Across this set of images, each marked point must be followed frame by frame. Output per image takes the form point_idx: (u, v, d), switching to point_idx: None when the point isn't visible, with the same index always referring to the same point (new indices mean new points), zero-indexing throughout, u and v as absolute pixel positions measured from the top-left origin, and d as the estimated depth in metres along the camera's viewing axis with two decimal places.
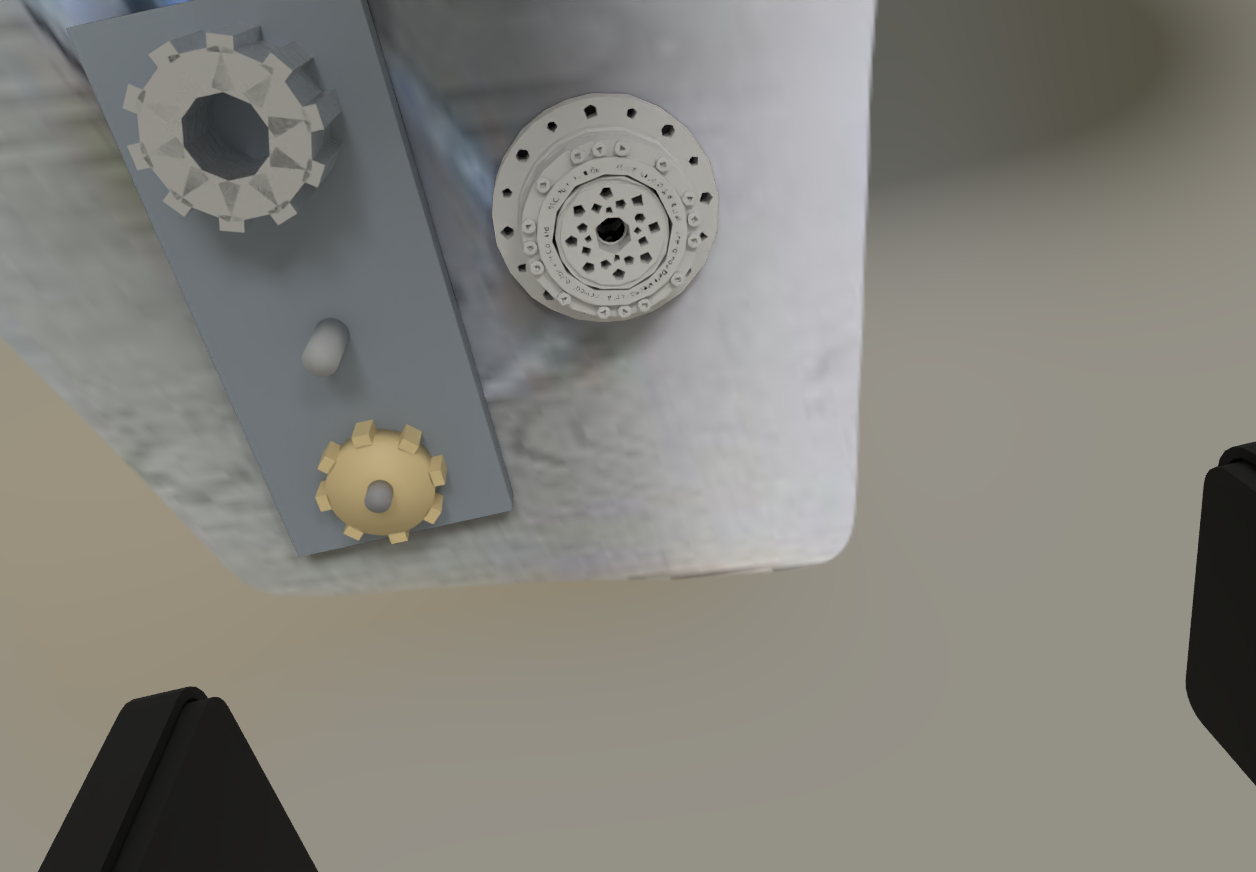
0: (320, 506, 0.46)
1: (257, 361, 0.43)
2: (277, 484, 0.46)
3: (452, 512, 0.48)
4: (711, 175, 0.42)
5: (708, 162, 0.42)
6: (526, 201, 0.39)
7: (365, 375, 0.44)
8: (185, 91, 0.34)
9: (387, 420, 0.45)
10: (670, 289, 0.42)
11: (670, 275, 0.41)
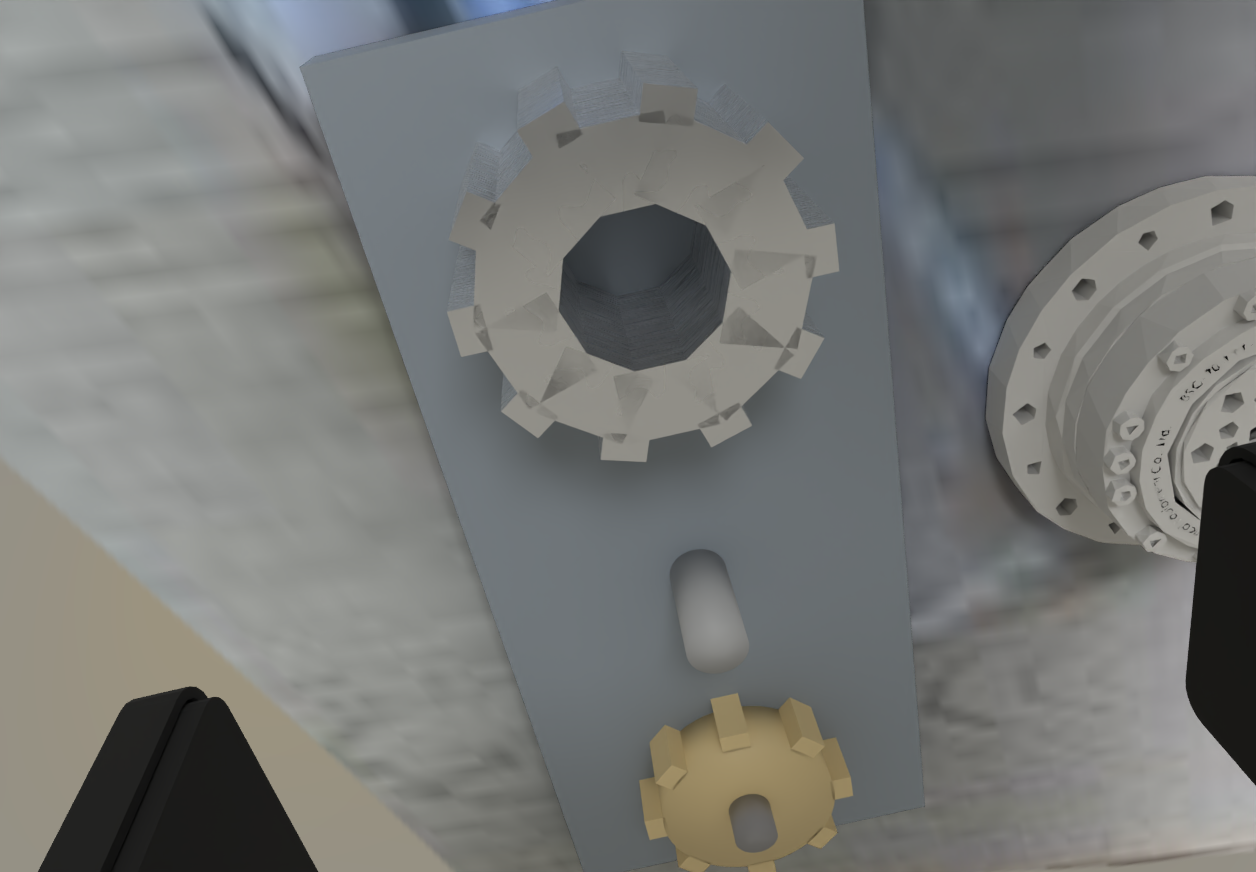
0: (650, 833, 0.28)
1: (567, 617, 0.26)
2: (570, 786, 0.29)
3: (832, 813, 0.30)
4: None
5: None
6: (1130, 383, 0.21)
7: None
8: (580, 204, 0.16)
9: (760, 692, 0.28)
10: None
11: None
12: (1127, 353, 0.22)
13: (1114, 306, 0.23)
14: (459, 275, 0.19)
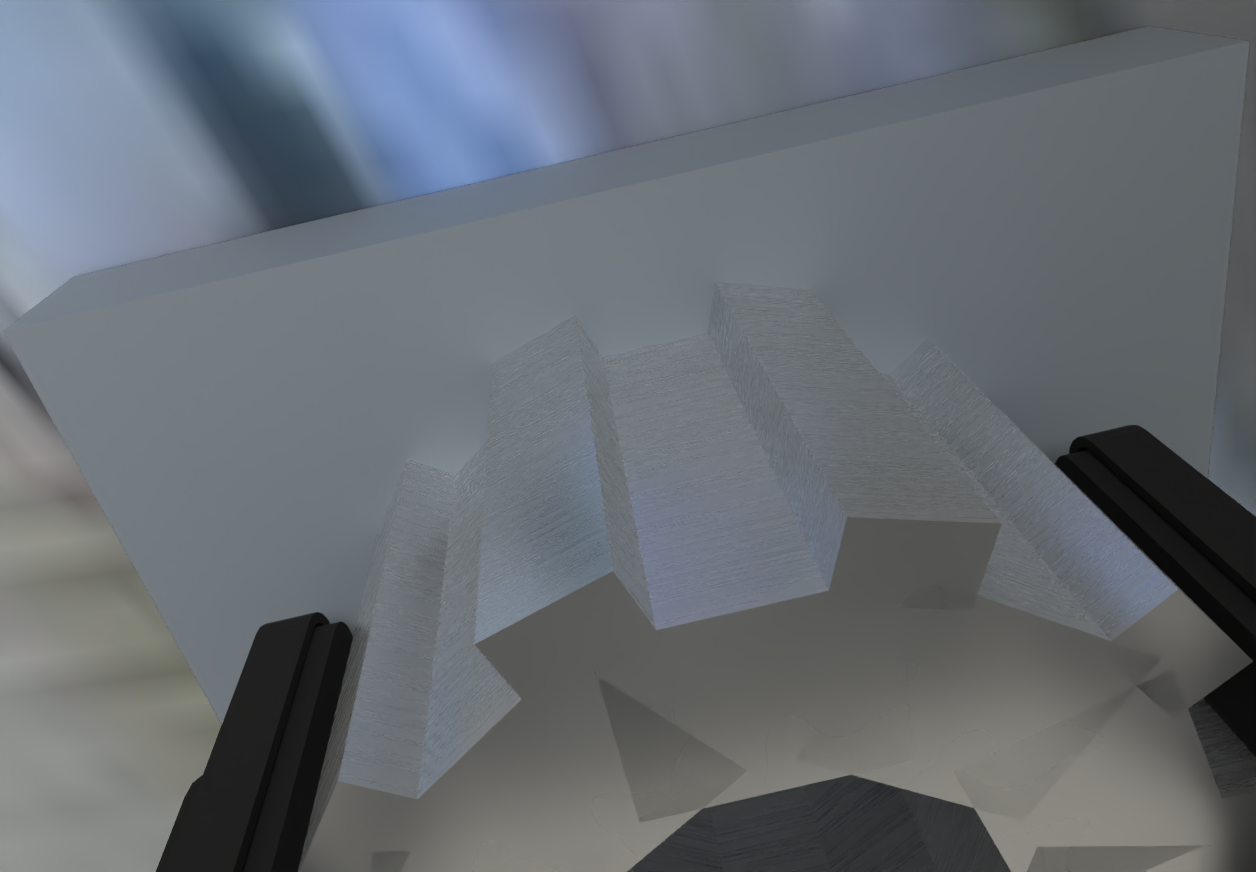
0: None
1: None
2: None
3: None
4: None
5: None
6: None
7: None
8: (652, 788, 0.06)
9: None
10: None
11: None
12: None
13: None
14: None
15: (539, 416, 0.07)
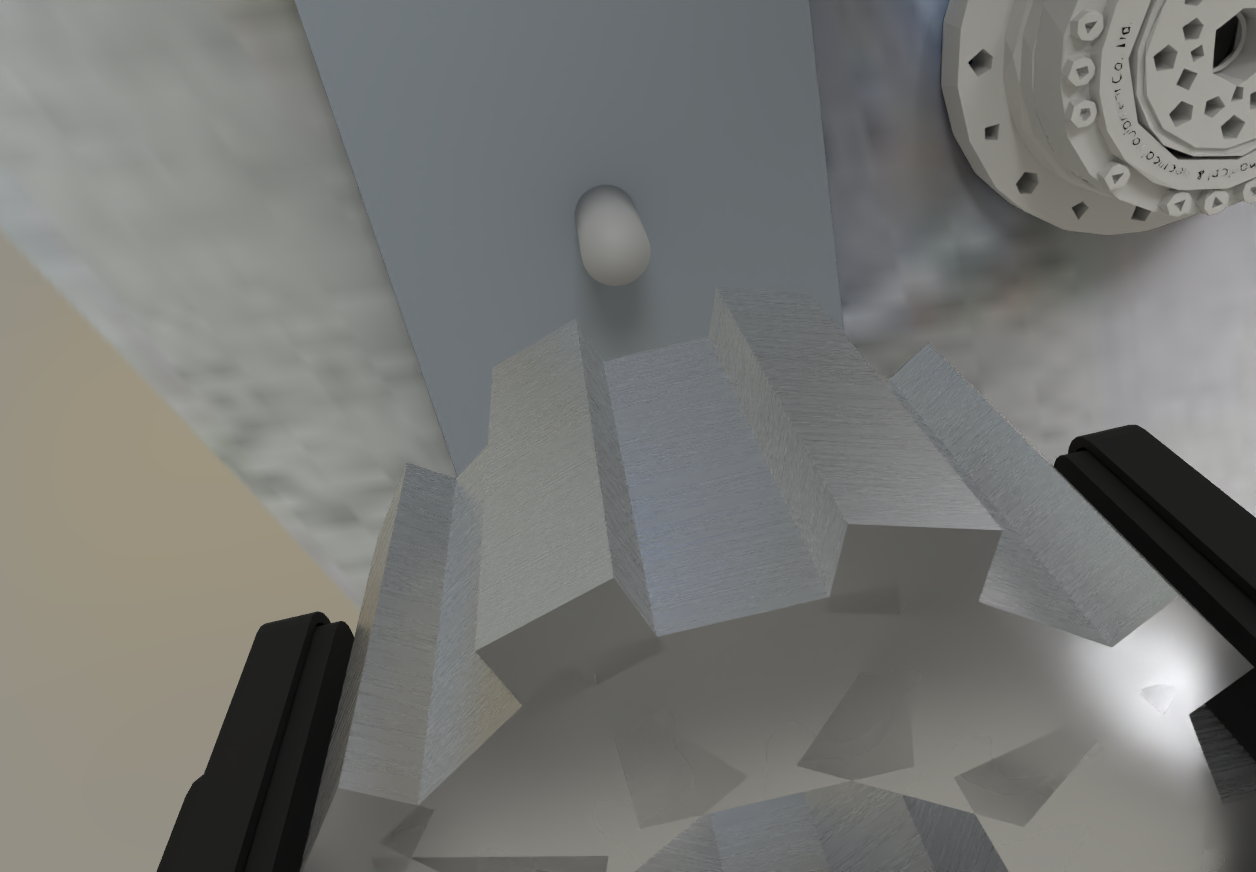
0: None
1: (465, 269, 0.24)
2: None
3: None
4: None
5: None
6: None
7: (654, 295, 0.25)
8: (652, 794, 0.06)
9: None
10: None
11: None
12: None
13: None
14: None
15: (539, 421, 0.07)
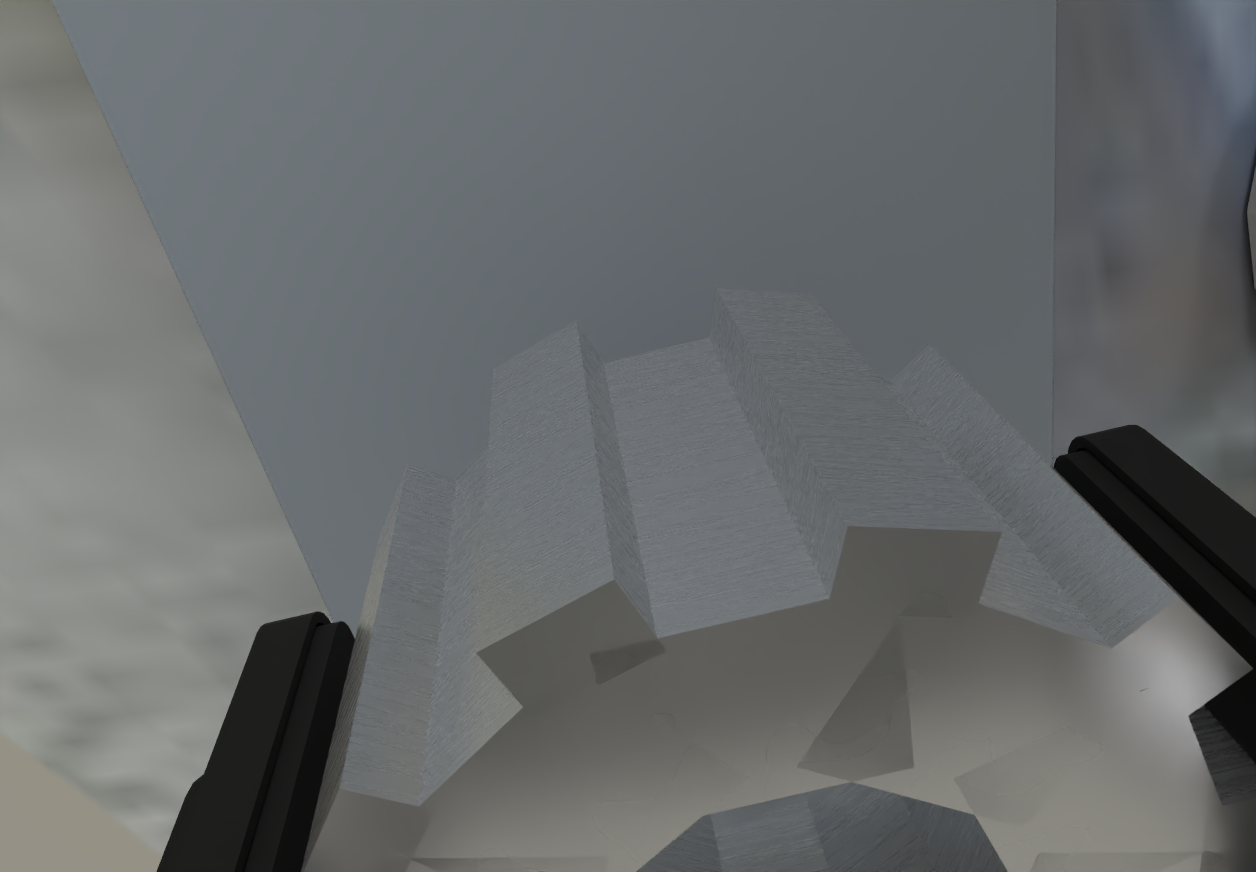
0: None
1: None
2: None
3: None
4: None
5: None
6: None
7: None
8: (652, 795, 0.06)
9: None
10: None
11: None
12: None
13: None
14: None
15: (540, 423, 0.07)
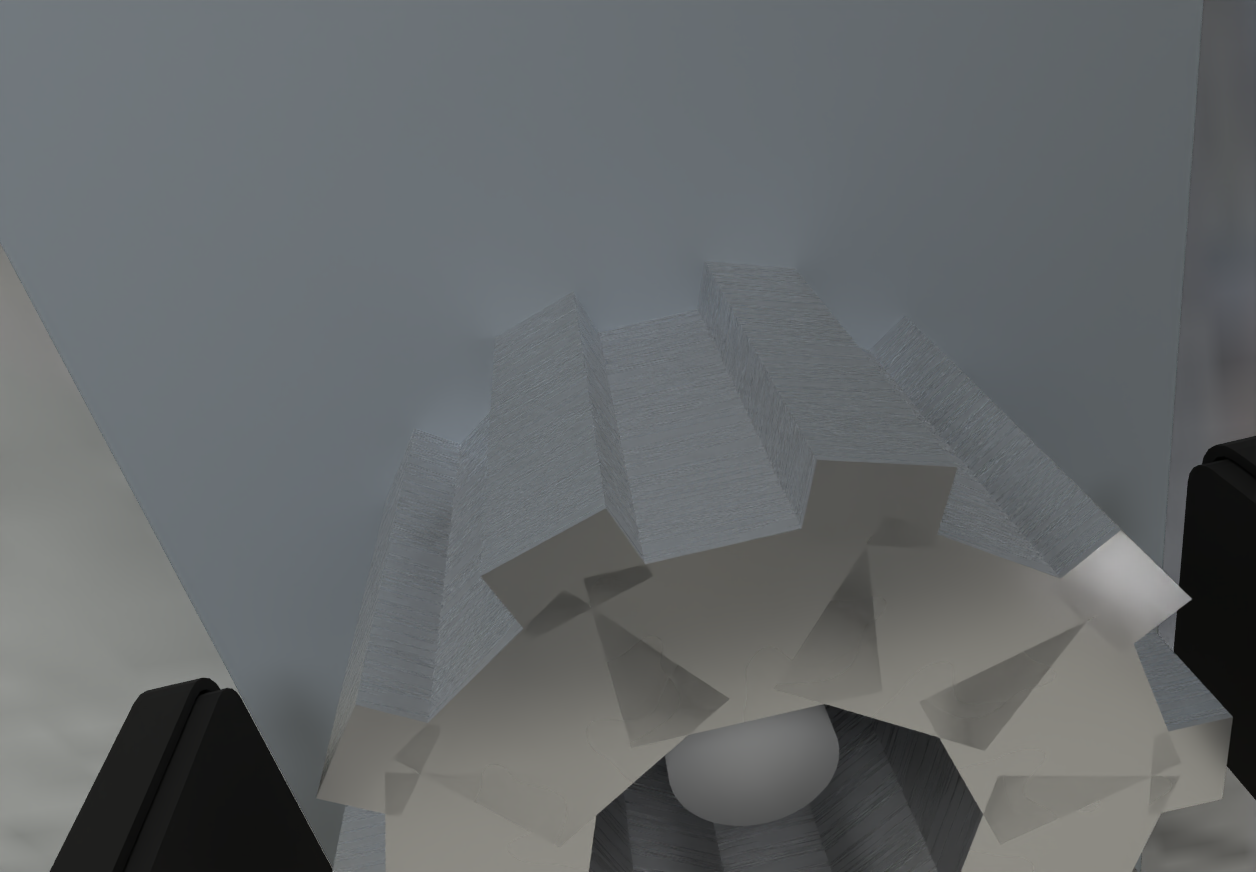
0: None
1: None
2: None
3: None
4: None
5: None
6: None
7: None
8: (641, 715, 0.07)
9: None
10: None
11: None
12: None
13: None
14: None
15: (539, 381, 0.08)
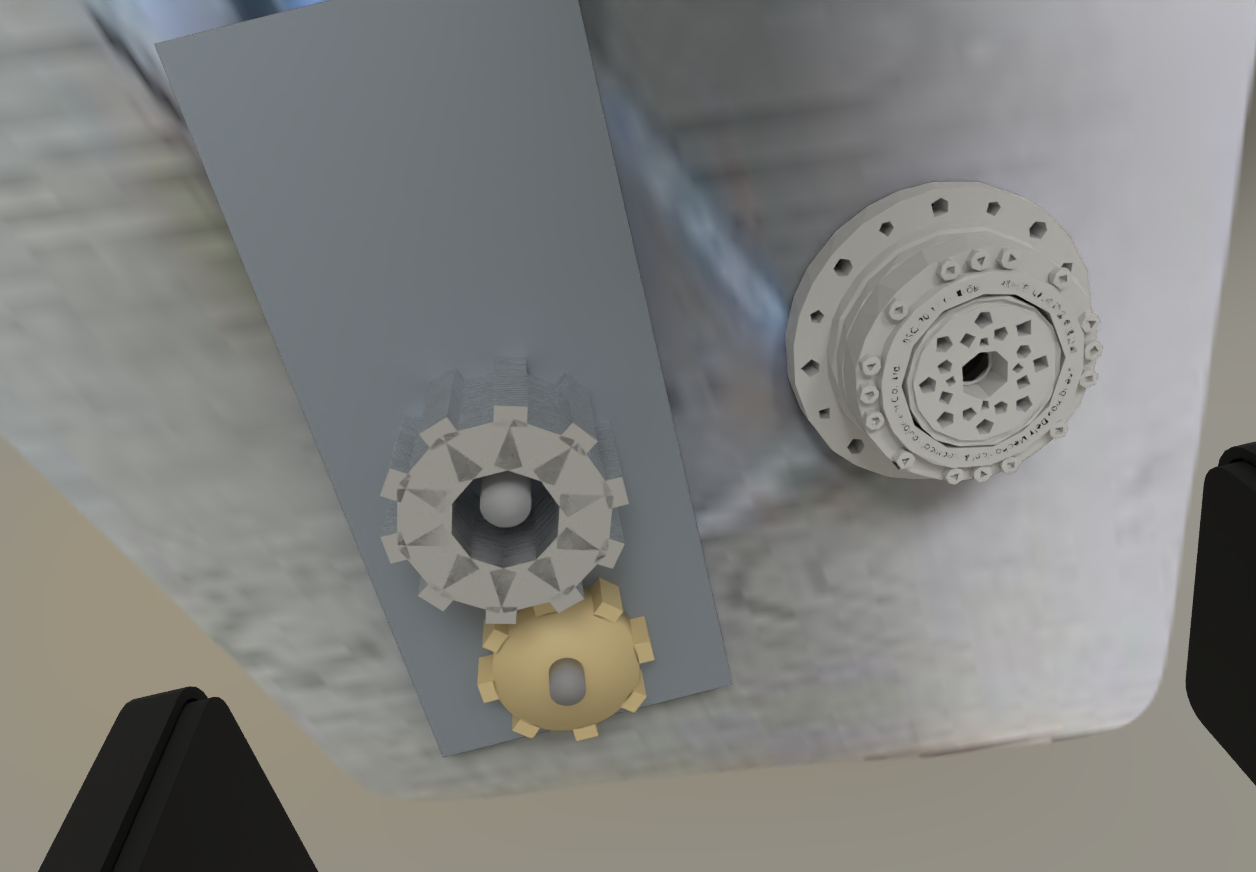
0: (483, 696, 0.33)
1: None
2: (419, 664, 0.34)
3: (651, 690, 0.35)
4: (1086, 286, 0.31)
5: (1084, 269, 0.31)
6: (868, 332, 0.28)
7: None
8: (461, 472, 0.27)
9: None
10: (1043, 442, 0.30)
11: (1050, 425, 0.30)
12: (868, 310, 0.29)
13: (864, 279, 0.30)
14: (392, 505, 0.29)
15: (439, 393, 0.28)
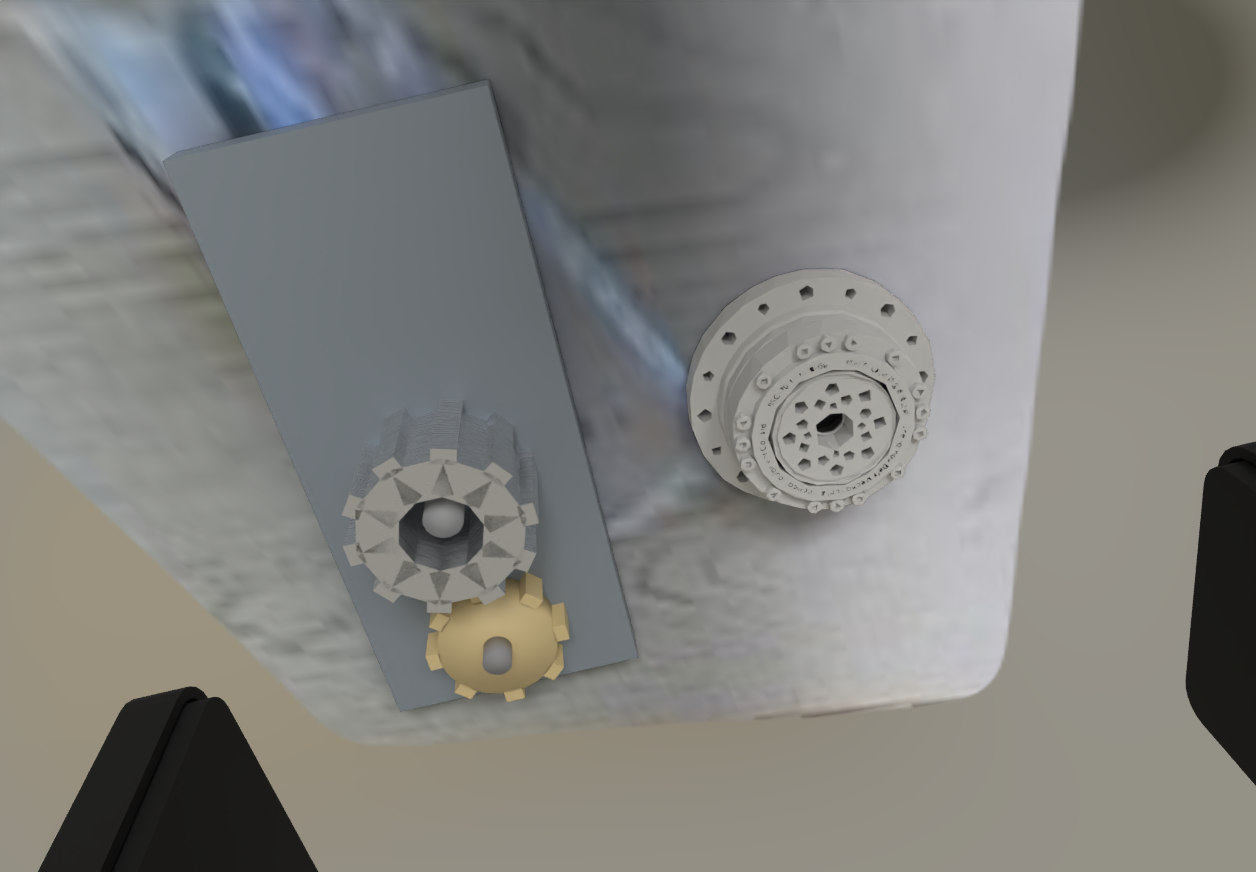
0: (430, 665, 0.41)
1: None
2: (380, 637, 0.42)
3: (571, 661, 0.43)
4: (929, 354, 0.38)
5: (927, 341, 0.38)
6: (741, 396, 0.36)
7: None
8: (405, 498, 0.34)
9: None
10: (887, 481, 0.38)
11: (891, 469, 0.37)
12: (744, 378, 0.36)
13: (744, 349, 0.37)
14: None
15: (391, 431, 0.35)
